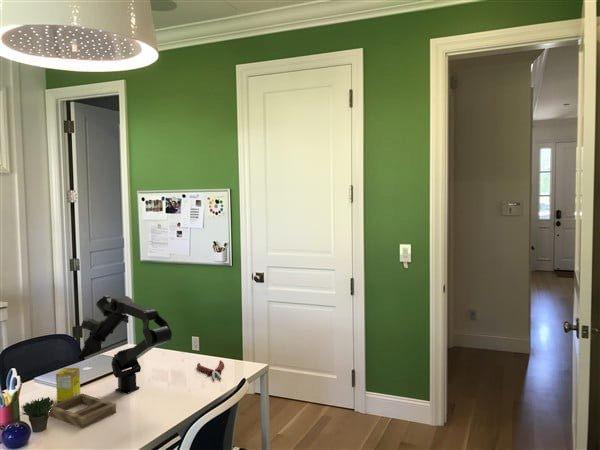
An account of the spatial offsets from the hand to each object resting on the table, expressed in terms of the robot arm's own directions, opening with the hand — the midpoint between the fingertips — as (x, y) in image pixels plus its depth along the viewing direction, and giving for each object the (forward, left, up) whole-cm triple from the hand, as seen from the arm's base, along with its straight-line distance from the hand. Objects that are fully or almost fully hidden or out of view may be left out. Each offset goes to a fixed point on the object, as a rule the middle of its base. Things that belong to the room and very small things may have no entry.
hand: (80, 354), depth 184 cm
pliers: (-31, -38, -14) cm, 51 cm away
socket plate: (-20, +14, -13) cm, 28 cm away
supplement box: (-5, +9, -14) cm, 17 cm away
